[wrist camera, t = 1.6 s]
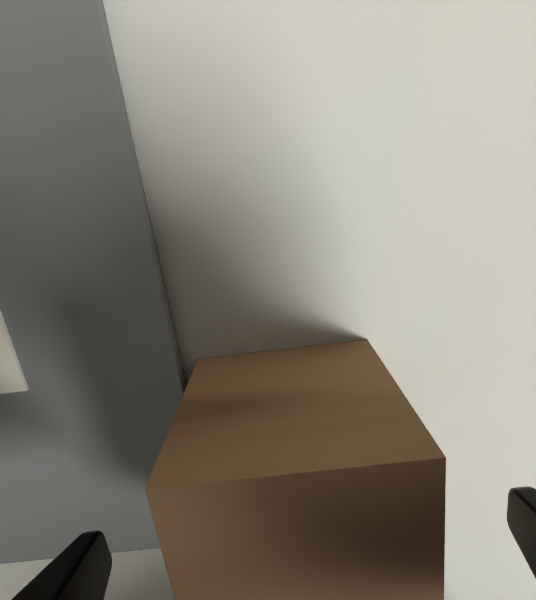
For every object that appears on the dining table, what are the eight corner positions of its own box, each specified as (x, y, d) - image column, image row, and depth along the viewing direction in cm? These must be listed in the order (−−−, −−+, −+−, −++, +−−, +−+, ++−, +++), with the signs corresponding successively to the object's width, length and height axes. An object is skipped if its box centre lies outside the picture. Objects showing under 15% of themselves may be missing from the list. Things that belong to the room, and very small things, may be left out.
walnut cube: (373, 476, 12) (442, 661, 7) (225, 492, 12) (198, 683, 8) (366, 338, 11) (445, 457, 6) (198, 358, 11) (144, 489, 6)
